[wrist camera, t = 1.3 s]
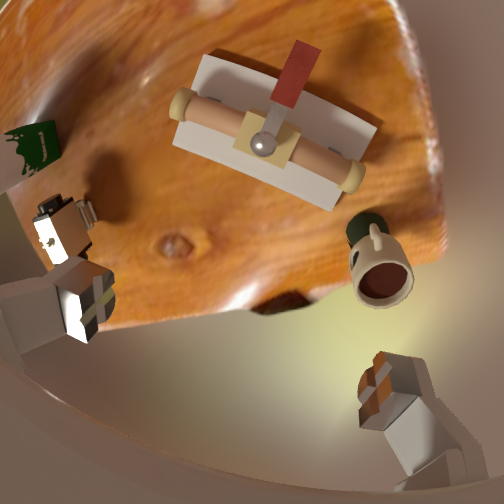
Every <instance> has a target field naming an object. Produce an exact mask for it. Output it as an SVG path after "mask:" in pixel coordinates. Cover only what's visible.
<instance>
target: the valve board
mask: <svg viewBox="0 0 504 504" xmlns="http://www.w3.org/2000/svg"><path fill="white" fill-rule="evenodd" d="M277 81H278V79H276V78H274V77H271V76H268V75H266V74H263V73H261V72H258V71H255V70H252V69H250V68H247V67H244V66H241V65H238V64H235V63H232V62H229V61H226V60H223V59H220V58H216V57H213V56H210V55H206V54H204V55H203V58H202V60H201V63H200V66H199V68H198V71H197V73H196V76H195V79H194V81H193V84H192V87H191V89H188V88H185V87H182V88H181V89H179V90H178V92H177V93H176V95H175V96H174V98H173V100H172V103H171V106H170V111H169V116H170V118H172V119H175V120H178V121H180V122H179V125H178V128H177V131H176V135H175V138H174V141H173V144H172V145H174V146H177V147H180V148H182V149H185V150H188V151H190V152H193V153H195V154H198V155H201V156H203V157H206V158H208V159H211V160H213V161H216V162H218V163H221V164H223V165H226V166H228V167H231V168H233V169H235V170H238V171H240V172H243V173H245V174H247V175H250V176H252V177H254V178H257V179H259V180H261V181H264V182H266V183H268V184H270V185H273V186H275V187H277V188H279V189H282V190H284V191H286V192H288V193H290V194H293V195H295V196H297V197H299V198H301V199H303V200H306V201H308V202H310V203H312V204H314V205H316V206H318V207H320V208H323V209H325V210H327V211H329V212H331V211H332V209H333V207H334V205H335V204H336V202H337V200H338V198H339V197H340V195H341V193H342V191H344V192H346V193H348V194H350V195H352V194H353V193H354V192H355V191H356V190H357V189H358V187H359V186H360V184H361V182H362V180H363V178H364V175H365V171H366V166H365V165H364V164H363V163H361V162H359V161H360V159H361V158H362V156H363V154H364V152H365V150H366V148H367V147H368V145H369V143H370V141H371V139H372V137H373V135H374V134H375V132H376V130H377V128H376V127H374V126H373V125H371V124H369V123H367V122H366V121H364V120H362V119H360V118H358V117H357V116H355V115H353V114H351V113H349V112H347V111H345V110H343V109H342V108H340V107H338V106H336V105H334V104H332V103H330V102H328V101H326V100H324V99H321V98H319V97H317V96H315V95H313V94H311V93H309V92H306V91H304V90H302V92H301V94H300V96H299V98H298V100H297V103H296V105H295V107H294V109H291V108H289V109H288V112H287V114H286V116H285V118H284V120H283V122H282V125H281V127H280V129H279V131H278V133H277V136H276V138H277V148H276V150H275V152H274V153H273V154H272V155H271V156H268V157H259V156H257V155H255V154H254V153H253V151H252V150H251V147H250V141H251V139H252V137H253V136H254V135H255V134H256V133H257V132H259V131H261V128H262V126H263V124H264V122H265V119H266V117H267V115H268V112H269V110H270V108H271V106H272V103H273V101H272V100H270V96H271V94H272V92H273V90H274V88H275V85H276V83H277Z"/></svg>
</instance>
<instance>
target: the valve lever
mask: <svg viewBox="0 0 504 504" xmlns="http://www.w3.org/2000/svg"><path fill="white" fill-rule="evenodd" d="M320 52H321V50H320V49H317V48H315V47H313V46H310V45H308V44H306V43H303V42H301V41H298V40H296V42H295V44H294V46H293V48H292V51H291V53H290V55H289V57H288V59H287V61H286V63H285V66H284V68H283V70H282V72H281V74H280V76H279V79H278V81H277V83H276V85H275V88H274V90H273V92H272V94H271V96H270V100H272V101H273V103H272V106H271V108H270V110H269V112H268V115H267V117H266V119H265V122H264V124H263V126H262V128H261V131H259V132H257V133H256V134H255V135H254V136H253V137H252V139H251V141H250V147H251V150H252V151H253V153H254V154H255V155H257V156H259V157H268V156H271V155H272V154H273V153H274V152H275V150H276V148H277V138H276V136H277V133H278V131H279V129H280V127H281V125H282V122H283V120H284V118H285V116H286V114H287V112H288V109H289V108H291V109H294V107H295V105H296V103H297V100H298V98H299V96H300V94H301V92H302V90H303V88H304V86H305V83H306V81H307V79H308V77H309V75H310V73H311V71H312V69H313V67H314V65H315V62H316V60H317V58H318V56H319V54H320Z"/></svg>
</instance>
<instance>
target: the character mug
mask: <svg viewBox="0 0 504 504" xmlns="http://www.w3.org/2000/svg"><path fill="white" fill-rule="evenodd" d="M346 234H347V237H348V239H349V241H350V243H351V244H350V243H349V242H348V243H349V245H350V248H351V249H352V250H351V252H350V255H349V266H350V272H351V277H352V282H353V287H354V292H355V295H356V297H357V299H358V300H359V301H360V302H361V303H362V304H364V305H365V306H368V307H371V308H374V309H385V308H389V307H392V306H395V305H397V304H398V303H400V302H401V301H403V300H404V299H405V298H406V297H407V296H408V294H409V293H410V291H411V290H412V288H413V283H414V276H413V272H412V268H411V266H410V264H409V262H408V259H407V257H406V255H405V253H404V251H403V249H402V247H401V245H400V243H399V242H398V241H397V240H396V239H395V238H394V237H393V236H391V235H390V234H389V230H388V226H387V223H386V222H385V221H384V219H383V218H382V217H381V216H379V215H377V214H375V213H363V214H360V215H357V216H355V217H354V218H353V219H352V220H351V221H350V222H349V223H348V226H347V229H346ZM347 241H348V240H347Z"/></svg>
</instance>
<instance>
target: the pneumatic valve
mask: <svg viewBox="0 0 504 504" xmlns="http://www.w3.org/2000/svg"><path fill="white" fill-rule="evenodd" d="M38 209H39V211H40V213H37V214H36V217H35V218H33V219H32V220H33V222H34V225H35V227H36V229H37V231H38V233H39V236H40V238H39V241H40V242H43V248H44V249H46V250H47V252H48V254H49V256H50V258H51V260H52V262H53V264H54V266H55V267H57V266H58V265H59V264H61V263H62V262H63V261H65V260H66V259H68V258H69V257H70V256H78V257H81V258H83V259H85V260H88V255H87V253H86V251H88V250H90V249H89V248H90V247H91V246H92V245H93V244H92V242H91V240H90V237H89V235H88V233H87V231H88V230H90V229H92V228H93V227H94V222H93V221H95V222H97V218H98V217H97V215H96V212H95V210H94V207H93V205H92V202H90V201H87V203H85V200H84V199H81V200H78V201H76V202H74V200H73V197H70V198H65V199H64V200H63V199H62V196H61V194H60V193H59V194H56V195H54V196H52V197H50V198H48V199H46V200H45V201H43V202H41V203H40V204H39V205H38Z"/></svg>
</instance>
